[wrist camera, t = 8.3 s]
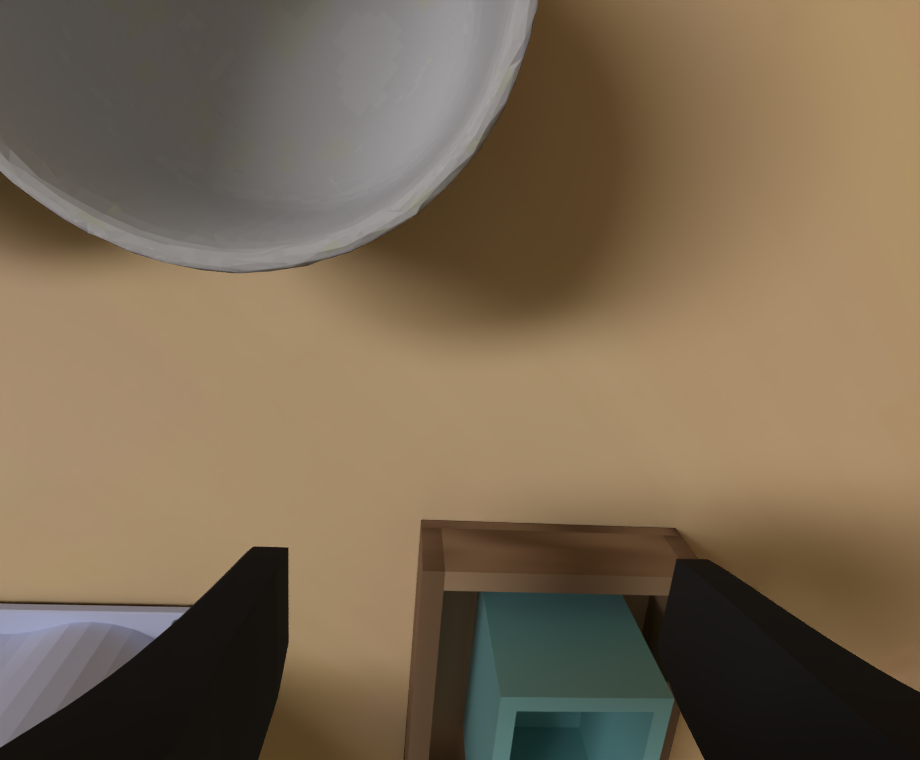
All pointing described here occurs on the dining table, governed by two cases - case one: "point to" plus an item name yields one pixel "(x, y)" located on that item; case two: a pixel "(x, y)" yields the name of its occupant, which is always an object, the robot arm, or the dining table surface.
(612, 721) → the teal crate
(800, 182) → the dining table surface
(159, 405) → the dining table surface
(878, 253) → the dining table surface
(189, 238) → the teacup
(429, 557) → the walnut crate
